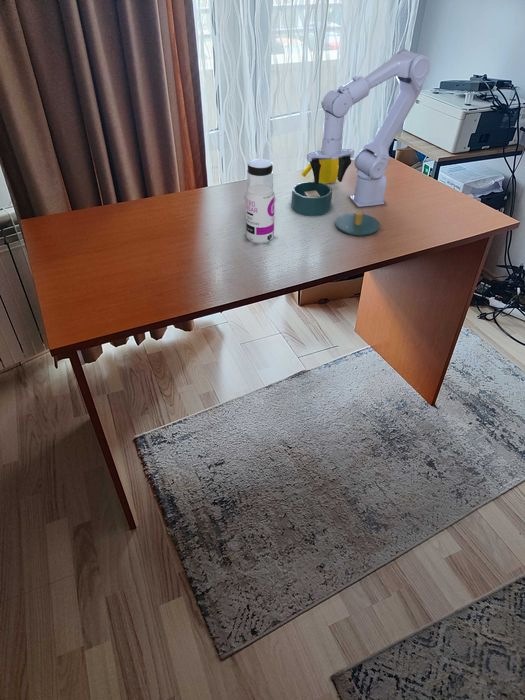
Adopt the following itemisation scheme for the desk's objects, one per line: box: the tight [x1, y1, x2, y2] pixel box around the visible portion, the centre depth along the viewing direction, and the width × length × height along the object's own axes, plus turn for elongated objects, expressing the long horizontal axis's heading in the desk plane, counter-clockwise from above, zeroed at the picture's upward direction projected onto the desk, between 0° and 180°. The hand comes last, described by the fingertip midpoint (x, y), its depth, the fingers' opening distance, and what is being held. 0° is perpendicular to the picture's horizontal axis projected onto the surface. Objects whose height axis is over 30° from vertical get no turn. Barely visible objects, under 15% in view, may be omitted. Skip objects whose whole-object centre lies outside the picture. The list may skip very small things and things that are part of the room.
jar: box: [246, 158, 274, 191], centre depth 157 cm, size 9×8×12 cm
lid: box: [335, 210, 381, 237], centre depth 145 cm, size 14×14×4 cm
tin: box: [291, 180, 333, 217], centre depth 155 cm, size 13×13×6 cm
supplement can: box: [245, 184, 276, 245], centre depth 137 cm, size 8×8×15 cm
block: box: [304, 191, 320, 197], centre depth 155 cm, size 4×4×4 cm
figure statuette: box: [300, 147, 339, 185], centre depth 164 cm, size 18×8×22 cm, turn 113°
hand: (328, 181), depth 149 cm, fingers open, 7 cm apart
